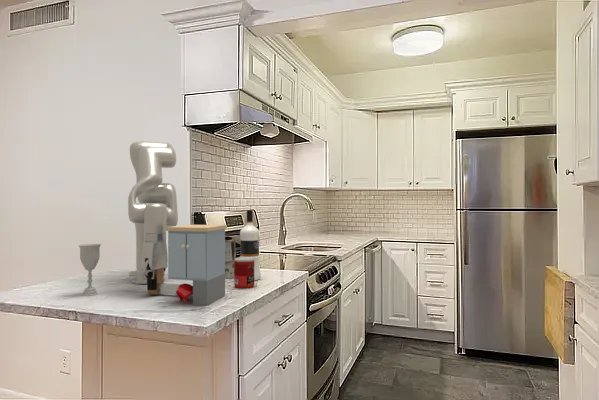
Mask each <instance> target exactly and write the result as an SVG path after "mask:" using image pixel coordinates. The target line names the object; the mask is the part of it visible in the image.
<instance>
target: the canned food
mask: <svg viewBox="0 0 599 400" xmlns="http://www.w3.org/2000/svg"><path fill="white" fill-rule="evenodd" d="M233 280H234V282H233V285H234V288H236V289H243V290H244V289H245V290H246V289H251V288H254V287H255V281H254V258H240V257H236V259H234V278H233Z"/></svg>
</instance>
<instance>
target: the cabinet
mask: <svg viewBox="0 0 599 400" xmlns="http://www.w3.org/2000/svg"><path fill="white" fill-rule="evenodd" d="M226 229H228V225H227V224H183V225H176V226H172V227H166V232H167V255H168V262H167V265H168V267H167V273H168V274H167V277H168V278H167V279H168V280H176V281H177V280H178V281H181V280H182V281H192V286H193V295H192V306H209V305H211V304H212V303H214V302H217V301H218V300H220V299H222V298H224V297H225V296H226V278H225V240H226Z"/></svg>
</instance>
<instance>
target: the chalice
mask: <svg viewBox="0 0 599 400" xmlns="http://www.w3.org/2000/svg"><path fill="white" fill-rule="evenodd" d="M101 246H102V244H101V243H87V244H86V243H85V244H79V245H78V247H79V258H80V259H79V260H80V262H81V265H82V266H83V268H84V270H85V271H87V272H88V274H87V284H88V285H87V287H86V288H84V291H83V293H82V294H81V296H83V297H90V296H91V297H92V296H95V295H98V294H99V293H98V291H97V289H96V288H95V287H94V286H93V285H92V284H93V283H92V282H93V279H92V277H93V274H92V271H93V270H95V268H96V267H97V264H98V263H99V260H100V252H101V251H100V247H101Z"/></svg>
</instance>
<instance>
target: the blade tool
mask: <svg viewBox="0 0 599 400" xmlns="http://www.w3.org/2000/svg"><path fill="white" fill-rule="evenodd" d="M150 270H151V268H150ZM150 273H151V274H152V272H150ZM164 274H165V272H164V268H160V269H157V270H155V278H154V279H156V290H147V289H146V291H147V292H146V293H147V295H170V296H173V295H174V296H178V295H177V294H176V291H177V290H178V286H179V285H181V284H182V283H167V282H166V283H165V275H164Z"/></svg>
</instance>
